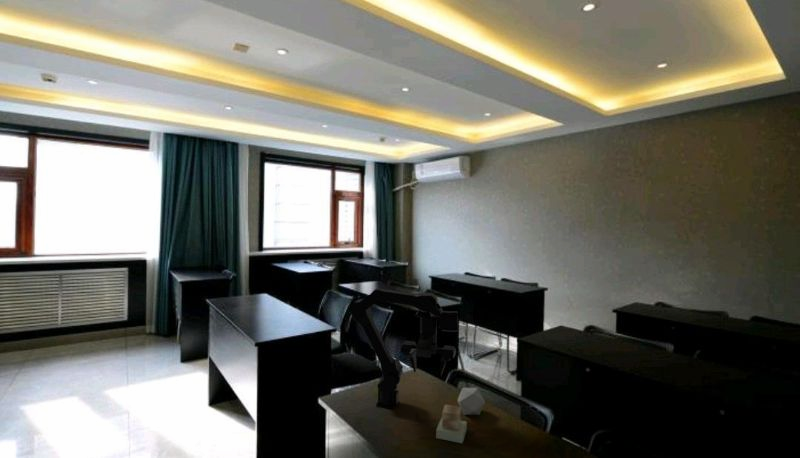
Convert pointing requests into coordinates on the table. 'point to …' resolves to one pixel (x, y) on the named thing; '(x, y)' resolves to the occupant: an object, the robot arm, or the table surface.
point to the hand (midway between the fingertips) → (427, 373)
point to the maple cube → (451, 417)
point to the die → (471, 401)
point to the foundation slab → (451, 432)
